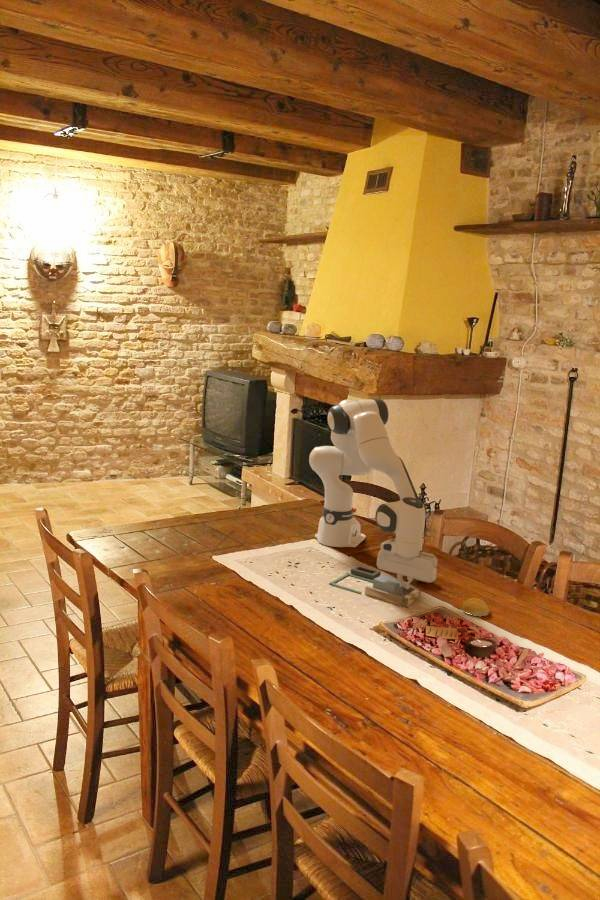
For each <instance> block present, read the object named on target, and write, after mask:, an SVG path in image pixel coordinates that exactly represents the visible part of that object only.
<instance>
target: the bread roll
mask: <svg viewBox="0 0 600 900" xmlns="http://www.w3.org/2000/svg"><path fill="white" fill-rule="evenodd" d="M462 611H463V612H464V613H465V612H467V613H470V614H472V615H475V616H479V617H478V618H482V617H481V616H484V617H487V616H489V614H490V609H489V606H488V604H487V603H486V602H485V600H483V599H481V598H476V597H473V598H468V599H466V600H465V601H463V603H462Z"/></svg>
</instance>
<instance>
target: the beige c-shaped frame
mask: <svg viewBox="0 0 600 900" xmlns="http://www.w3.org/2000/svg"><path fill="white" fill-rule="evenodd" d="M421 593H422V589H421V588H418V587H414V586H411V585H410V587H409V589H404V588H403V592H402V594H406V595H405V596H403V595H401V596H398V595H395V594H392V593H388V592H385V591H382V590H378V589H375V588H373V587H371V586H369V585H367V586H365V588H364V595H365V596H366V595H367V596H370V597H372V598H376V599H378V600H379V599H380V600H383V601H385V602H389V603H392V604H396V605H399V606H402V607H405V608H406V607H408V606H409V605H410V604H412V603H413V602H415V601H416V600H417V599H419V598H420V597H421V595H422V594H421Z"/></svg>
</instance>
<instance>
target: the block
mask: <svg viewBox="0 0 600 900" xmlns="http://www.w3.org/2000/svg"><path fill="white" fill-rule="evenodd" d="M399 584H400V582H399V580H398V578H394V577H393V576H392V577H391V576H388V575H386V574H382V575H380V576H379V577H377V578H375V579H374V581H373V583H372V588H375V589H378V590H382V591H385V592H388V593H392V594H395V595H398V596H403V593H402V592H403V588H401V587H399Z"/></svg>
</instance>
